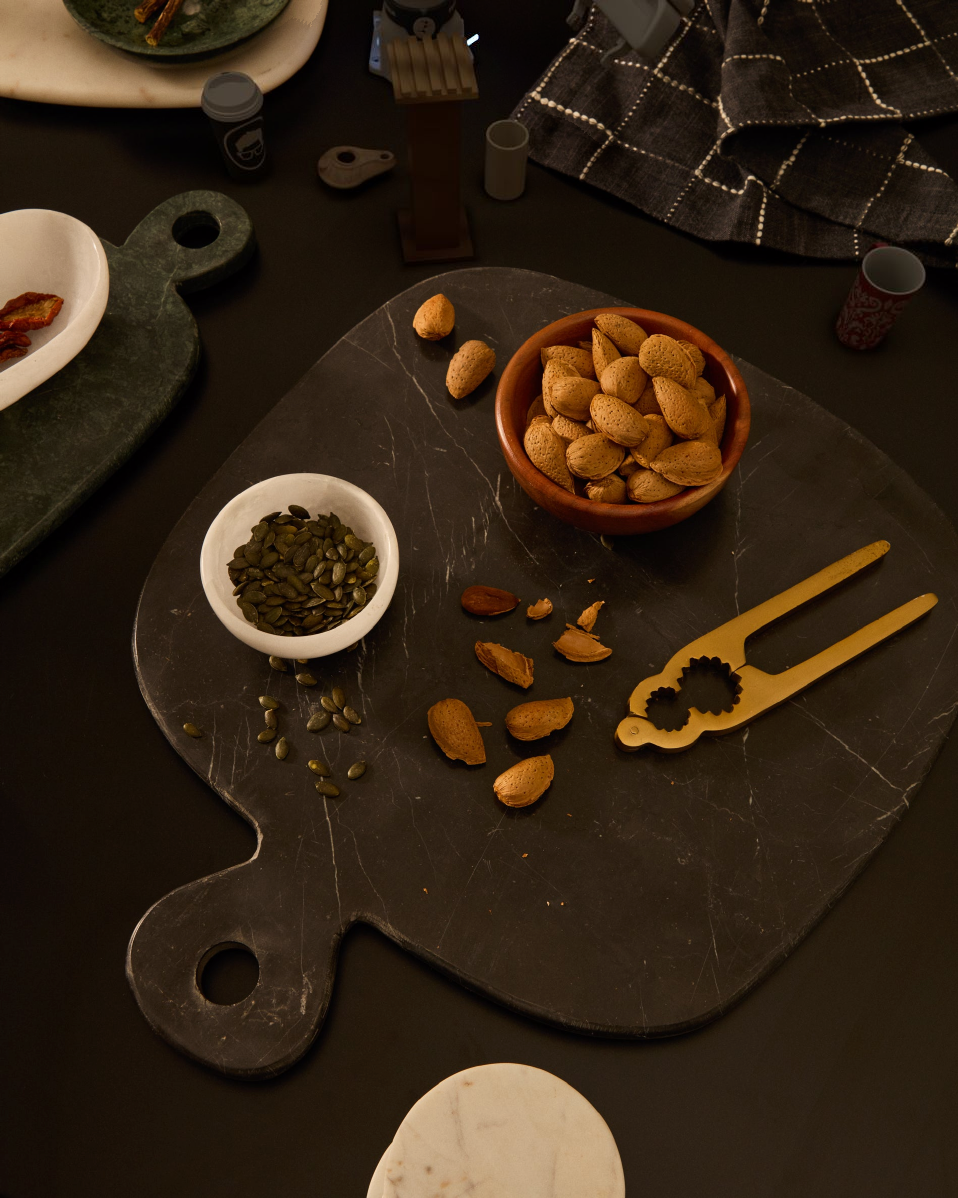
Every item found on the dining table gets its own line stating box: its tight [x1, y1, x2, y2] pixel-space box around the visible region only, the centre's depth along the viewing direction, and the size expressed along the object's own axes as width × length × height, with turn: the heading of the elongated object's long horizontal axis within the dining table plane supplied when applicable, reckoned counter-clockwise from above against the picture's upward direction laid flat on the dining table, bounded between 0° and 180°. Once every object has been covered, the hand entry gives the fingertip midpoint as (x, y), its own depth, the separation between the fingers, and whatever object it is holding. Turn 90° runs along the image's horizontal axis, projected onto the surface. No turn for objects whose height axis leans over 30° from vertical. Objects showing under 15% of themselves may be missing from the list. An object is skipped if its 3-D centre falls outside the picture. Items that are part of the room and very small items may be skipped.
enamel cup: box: [483, 119, 530, 201], centre depth 158 cm, size 7×7×10 cm
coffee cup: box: [200, 70, 269, 184], centre depth 156 cm, size 10×10×15 cm
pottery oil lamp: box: [317, 145, 397, 190], centre depth 160 cm, size 9×12×7 cm
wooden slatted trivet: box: [386, 32, 479, 106], centre depth 130 cm, size 11×11×2 cm
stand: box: [396, 100, 475, 267], centre depth 144 cm, size 11×11×30 cm
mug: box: [834, 241, 927, 351], centre depth 146 cm, size 13×9×14 cm
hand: (585, 45), depth 146 cm, fingers open, 8 cm apart
